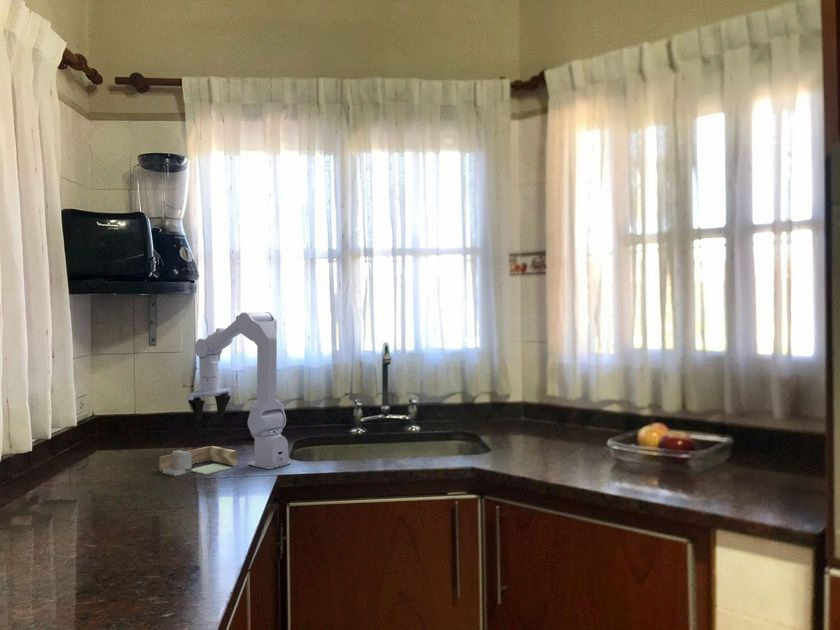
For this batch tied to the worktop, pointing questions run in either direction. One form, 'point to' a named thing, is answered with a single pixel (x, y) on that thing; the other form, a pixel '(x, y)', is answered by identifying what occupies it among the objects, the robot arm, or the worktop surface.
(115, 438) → the worktop surface
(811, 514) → the worktop surface
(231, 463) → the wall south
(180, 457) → the bracket
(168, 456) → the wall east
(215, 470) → the pad
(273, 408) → the robot arm
